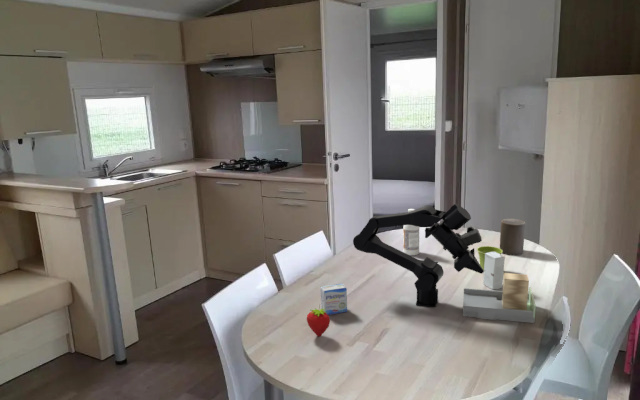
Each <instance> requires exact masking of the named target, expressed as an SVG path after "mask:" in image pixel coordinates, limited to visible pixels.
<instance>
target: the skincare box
mask: <svg viewBox="0 0 640 400" xmlns="http://www.w3.org/2000/svg"><path fill="white" fill-rule="evenodd" d="M505 258H506V257H505V256H503V255H502V254H501V255H500V254H498V253H496V252H488V253H485V262H484V272H483V279H482V284H483V285H484V286H486V287H487V288H489V289H490V290H498V289H503V278H504V270H505Z"/></svg>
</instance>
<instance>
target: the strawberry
mask: <svg viewBox="0 0 640 400" xmlns="http://www.w3.org/2000/svg"><path fill="white" fill-rule="evenodd" d="M325 309H326V308H325ZM323 310H324V309H321V305H319V307H318V308H314V309H310V312H309V313H308V314H307V317H306V322H307V325H308V326H309V328H310V329H311V331H312V332H313V333H314V334H315V335H316V337H321V336H322V335H323V334H324V333H325V332H326V330H327V329H328V328H329V327H330V326H329V325H330V323H331V319H330V315H327V314H326V313H327V312H325V311H323Z"/></svg>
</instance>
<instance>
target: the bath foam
mask: <svg viewBox="0 0 640 400" xmlns="http://www.w3.org/2000/svg"><path fill="white" fill-rule="evenodd" d="M414 210H416V209H415V208H408V209H407V212H411V211H414ZM402 226H403V228H402V230H403V232H402V233H403V235H402V239H403V241H402V242H403V243H402V244H403V246H402V250H403V251H402V252H404V253H406V254H408V255H410V256H417V255H419V254H420V227H418V226H413V225H402Z"/></svg>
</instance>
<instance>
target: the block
mask: <svg viewBox="0 0 640 400" xmlns="http://www.w3.org/2000/svg"><path fill="white" fill-rule="evenodd" d="M529 281H530V280H529V276H528V274H523V273H522V274H521V273H511V272H510V273H509V272H503V283H502V291H503V295H502V305H503V308H506V309H516V310H526V311H527V300H528V293H529V287H530V286H529V284H530V283H529Z"/></svg>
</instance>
